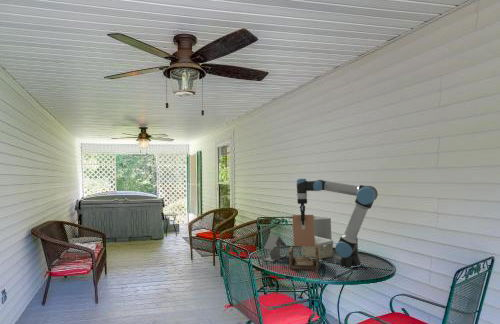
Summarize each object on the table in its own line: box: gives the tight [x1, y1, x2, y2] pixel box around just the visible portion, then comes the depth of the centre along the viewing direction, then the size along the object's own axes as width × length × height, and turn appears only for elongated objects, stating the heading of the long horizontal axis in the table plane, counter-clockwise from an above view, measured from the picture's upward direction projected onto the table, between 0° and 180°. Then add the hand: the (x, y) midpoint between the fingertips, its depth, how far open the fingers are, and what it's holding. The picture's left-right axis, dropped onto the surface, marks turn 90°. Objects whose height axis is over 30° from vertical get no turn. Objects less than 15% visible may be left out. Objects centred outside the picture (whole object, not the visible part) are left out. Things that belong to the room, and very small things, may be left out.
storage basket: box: [301, 236, 334, 260], centre depth 279 cm, size 24×16×15 cm
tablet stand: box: [263, 234, 287, 263], centre depth 275 cm, size 18×10×20 cm, turn 137°
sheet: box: [292, 214, 315, 247], centre depth 256 cm, size 2×16×24 cm, turn 78°
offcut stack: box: [294, 256, 314, 266], centre depth 246 cm, size 6×14×7 cm, turn 78°
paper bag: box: [313, 215, 333, 240], centre depth 304 cm, size 19×15×28 cm
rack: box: [288, 245, 320, 270], centre depth 251 cm, size 18×21×14 cm
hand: (303, 228), depth 256 cm, fingers closed on sheet, 2 cm apart
